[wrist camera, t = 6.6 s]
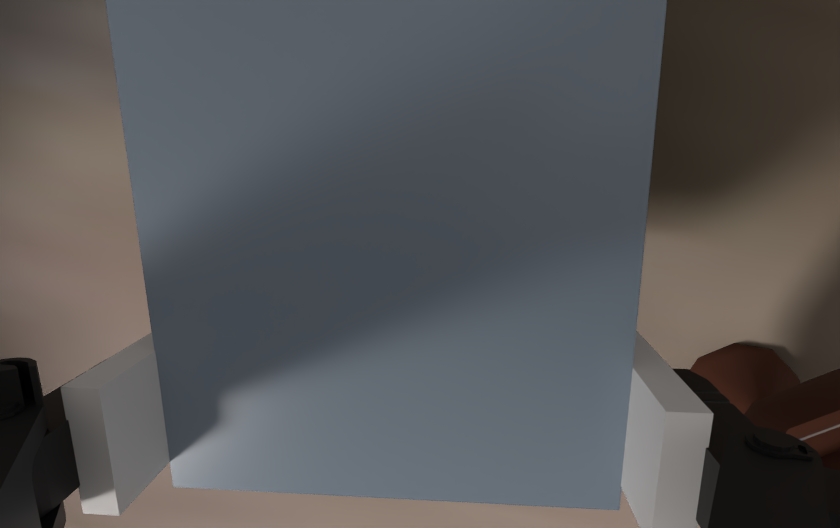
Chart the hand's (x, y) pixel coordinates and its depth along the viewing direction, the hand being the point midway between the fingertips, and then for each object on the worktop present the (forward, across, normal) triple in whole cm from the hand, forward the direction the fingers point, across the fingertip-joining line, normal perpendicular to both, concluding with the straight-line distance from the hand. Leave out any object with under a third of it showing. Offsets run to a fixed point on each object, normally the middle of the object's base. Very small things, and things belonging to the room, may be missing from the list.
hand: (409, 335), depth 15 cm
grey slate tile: (0, 0, -7) cm, 7 cm away
